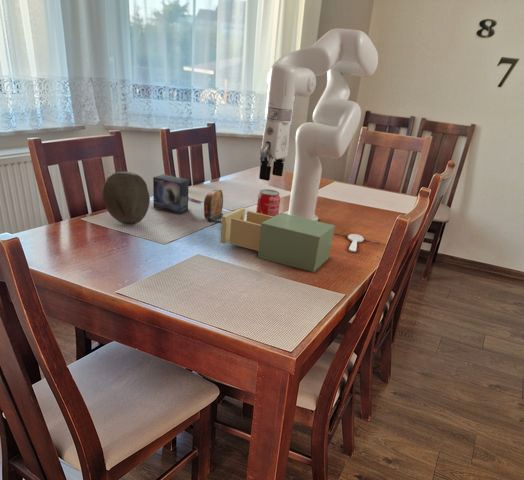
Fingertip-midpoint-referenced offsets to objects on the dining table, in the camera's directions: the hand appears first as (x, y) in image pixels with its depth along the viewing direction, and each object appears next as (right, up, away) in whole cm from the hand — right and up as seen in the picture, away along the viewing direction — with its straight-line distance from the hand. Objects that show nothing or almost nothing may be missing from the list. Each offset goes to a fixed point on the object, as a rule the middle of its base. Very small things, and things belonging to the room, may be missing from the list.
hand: (270, 177), depth 145 cm
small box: (-34, -4, +20) cm, 40 cm away
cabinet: (+6, -26, -8) cm, 28 cm away
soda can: (-2, -15, +9) cm, 18 cm away
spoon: (+27, -18, +10) cm, 34 cm away
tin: (-20, -7, +18) cm, 27 cm away
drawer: (-8, -20, -3) cm, 22 cm away
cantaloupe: (-44, -13, +3) cm, 46 cm away
